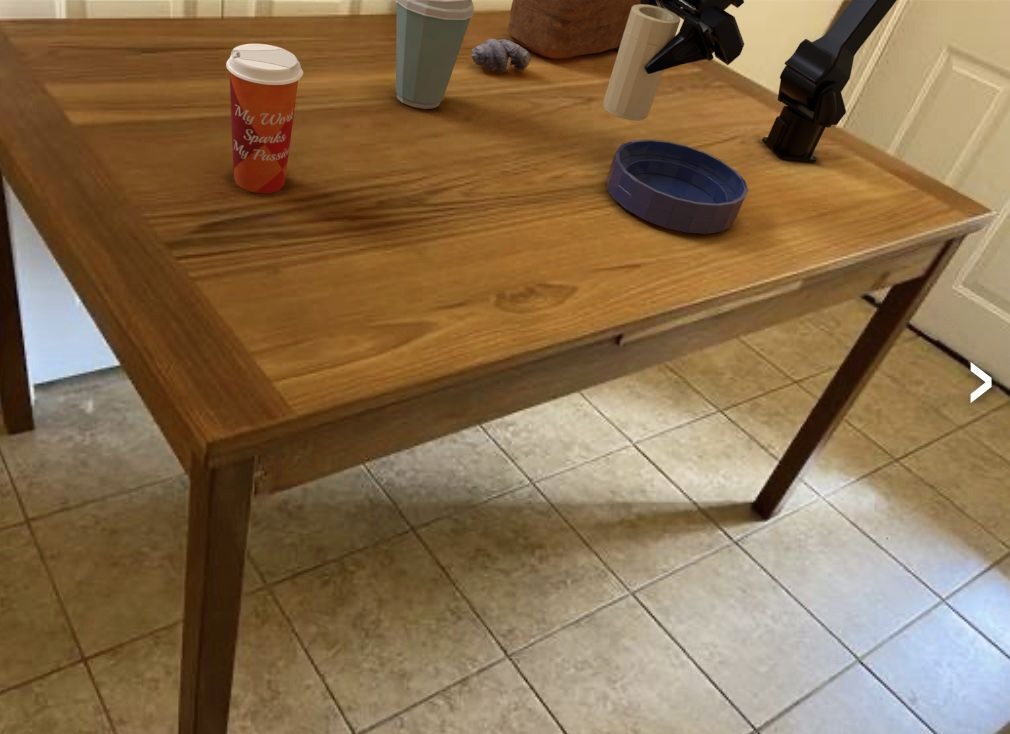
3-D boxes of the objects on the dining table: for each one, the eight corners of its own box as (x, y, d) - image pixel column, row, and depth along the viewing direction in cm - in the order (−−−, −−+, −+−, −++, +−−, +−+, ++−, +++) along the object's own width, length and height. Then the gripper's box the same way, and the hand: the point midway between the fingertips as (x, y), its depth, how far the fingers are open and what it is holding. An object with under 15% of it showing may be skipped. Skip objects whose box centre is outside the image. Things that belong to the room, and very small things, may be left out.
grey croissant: (521, 77, 141) (466, 79, 137) (516, 42, 140) (461, 43, 136) (539, 67, 136) (483, 69, 132) (534, 31, 136) (478, 32, 131)
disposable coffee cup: (371, 102, 120) (386, -14, 111) (393, 77, 128) (409, -33, 119) (445, 123, 120) (467, 8, 110) (463, 96, 128) (484, -13, 118)
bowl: (701, 175, 122) (714, 145, 119) (755, 241, 110) (770, 209, 107) (588, 166, 118) (598, 134, 115) (631, 233, 106) (643, 200, 103)
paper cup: (227, 197, 95) (230, 68, 86) (221, 163, 100) (223, 38, 91) (299, 199, 98) (309, 74, 88) (290, 166, 103) (298, 44, 94)
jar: (634, 101, 119) (665, 5, 111) (655, 121, 115) (689, 24, 107) (595, 99, 117) (623, 2, 109) (615, 120, 113) (646, 20, 105)
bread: (491, 37, 149) (507, -40, 141) (591, 21, 166) (610, -50, 158) (552, 69, 143) (572, -10, 135) (649, 49, 160) (673, -23, 152)
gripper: (669, -106, 109) (570, -16, 111) (764, -58, 97) (650, 42, 100) (696, -34, 117) (603, 48, 120) (787, 18, 105) (681, 109, 108)
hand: (632, 60), depth 111 cm, fingers closed on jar, 6 cm apart
